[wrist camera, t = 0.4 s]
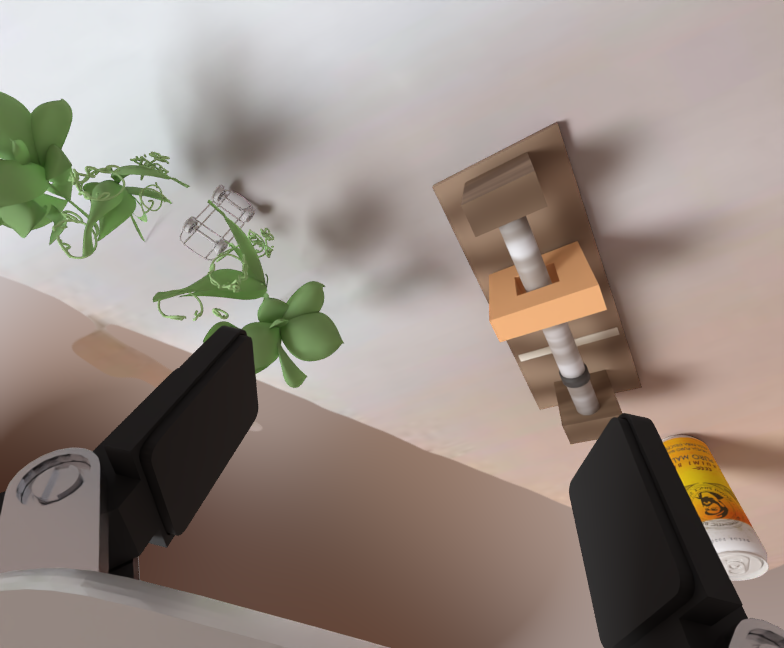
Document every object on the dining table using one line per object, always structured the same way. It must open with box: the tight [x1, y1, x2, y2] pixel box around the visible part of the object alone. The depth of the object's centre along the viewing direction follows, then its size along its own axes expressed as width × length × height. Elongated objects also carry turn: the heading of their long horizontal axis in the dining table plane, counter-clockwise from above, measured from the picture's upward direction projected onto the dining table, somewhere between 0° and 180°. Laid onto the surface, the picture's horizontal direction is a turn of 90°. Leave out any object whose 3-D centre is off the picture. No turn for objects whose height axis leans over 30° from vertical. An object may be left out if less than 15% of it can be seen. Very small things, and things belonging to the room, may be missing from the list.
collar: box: [489, 241, 607, 342], centre depth 37 cm, size 2×9×9 cm, turn 120°
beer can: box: [662, 435, 769, 580], centre depth 46 cm, size 6×6×15 cm
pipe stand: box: [433, 122, 641, 444], centre depth 40 cm, size 32×12×8 cm, turn 30°
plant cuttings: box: [0, 92, 344, 388], centre depth 42 cm, size 35×17×22 cm
